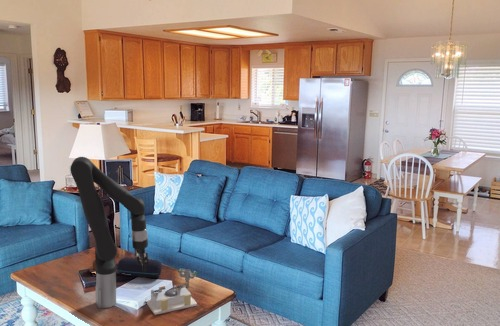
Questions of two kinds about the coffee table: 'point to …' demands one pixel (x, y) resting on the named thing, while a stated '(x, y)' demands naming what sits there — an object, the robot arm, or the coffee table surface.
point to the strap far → (183, 284)
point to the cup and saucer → (93, 266)
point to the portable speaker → (140, 268)
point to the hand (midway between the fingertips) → (142, 268)
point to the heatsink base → (170, 300)
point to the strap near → (160, 289)
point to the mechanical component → (187, 275)
